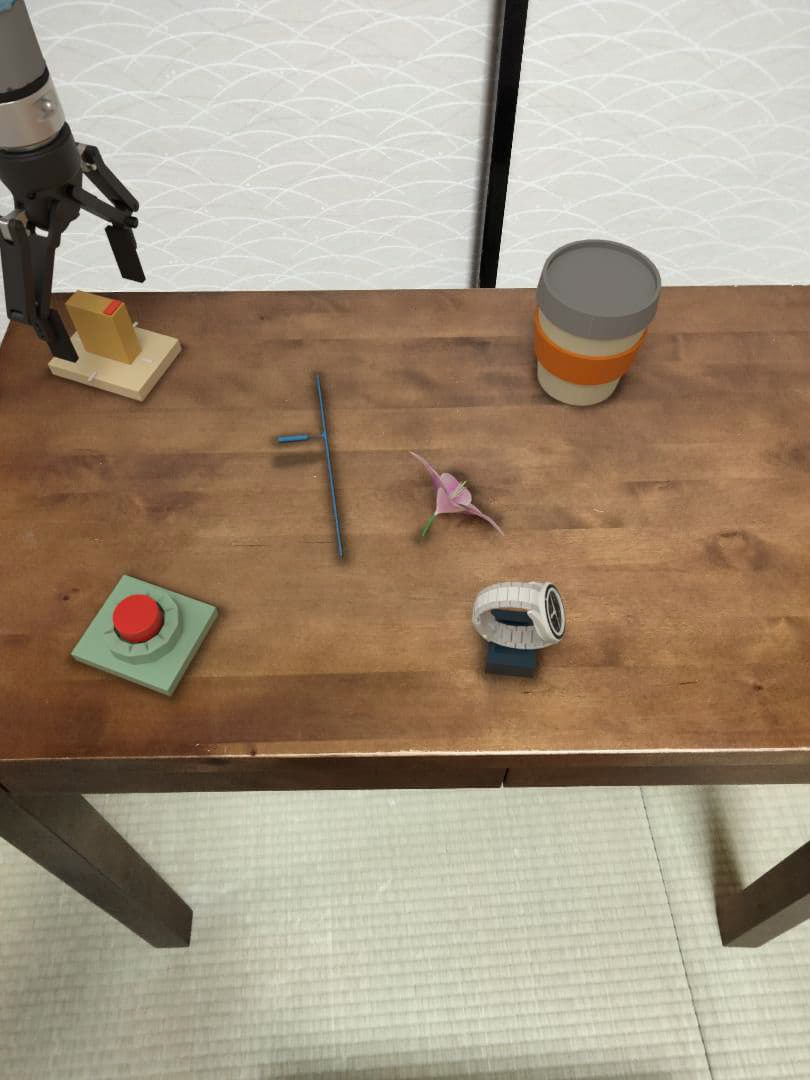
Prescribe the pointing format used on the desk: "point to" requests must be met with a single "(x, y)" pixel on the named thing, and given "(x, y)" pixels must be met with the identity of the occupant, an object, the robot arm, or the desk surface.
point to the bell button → (137, 618)
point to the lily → (451, 496)
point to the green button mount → (160, 655)
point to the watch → (518, 625)
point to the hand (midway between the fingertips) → (101, 316)
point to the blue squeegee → (304, 437)
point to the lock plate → (121, 365)
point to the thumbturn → (103, 326)
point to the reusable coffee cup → (592, 317)
